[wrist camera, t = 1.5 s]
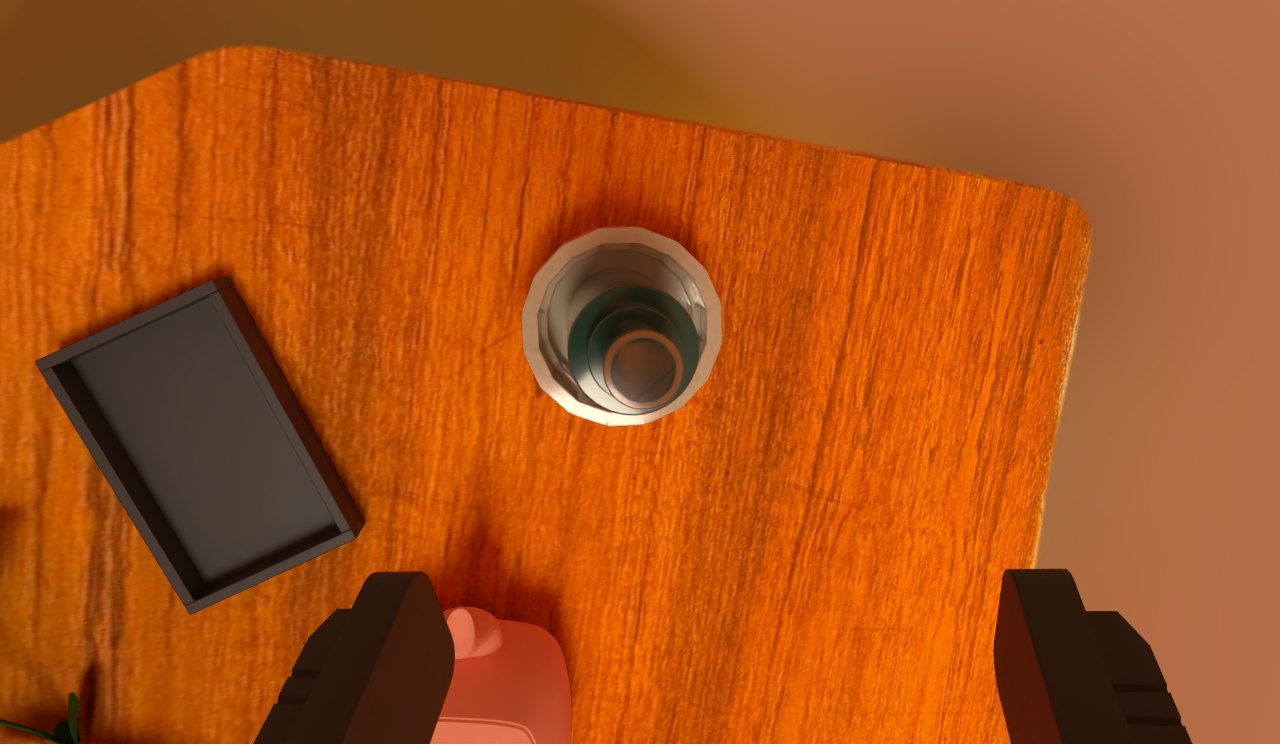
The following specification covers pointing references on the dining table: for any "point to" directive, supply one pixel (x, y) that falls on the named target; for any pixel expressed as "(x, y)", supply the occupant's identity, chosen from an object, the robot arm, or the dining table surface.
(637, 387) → the bottle
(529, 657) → the teapot
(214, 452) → the tray
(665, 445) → the dining table surface
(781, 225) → the dining table surface
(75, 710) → the flower
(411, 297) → the dining table surface
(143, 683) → the dining table surface
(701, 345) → the bowl
